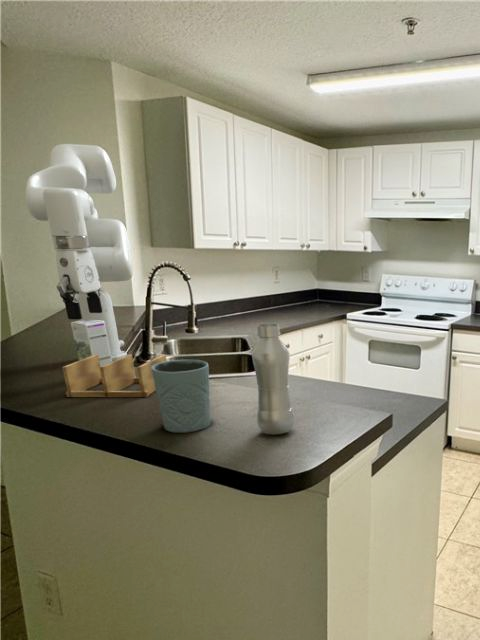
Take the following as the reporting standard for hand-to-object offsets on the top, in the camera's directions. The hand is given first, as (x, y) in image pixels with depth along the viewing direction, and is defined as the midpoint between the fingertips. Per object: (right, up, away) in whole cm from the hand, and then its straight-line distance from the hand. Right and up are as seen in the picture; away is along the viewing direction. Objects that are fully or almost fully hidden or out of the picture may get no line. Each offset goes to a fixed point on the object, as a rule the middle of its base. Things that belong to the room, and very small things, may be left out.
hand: (86, 315), depth 137 cm
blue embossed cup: (+38, -29, -31) cm, 57 cm away
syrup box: (+1, -15, +5) cm, 16 cm away
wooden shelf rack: (+12, -19, -6) cm, 23 cm away
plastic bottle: (+56, -30, -35) cm, 73 cm away
